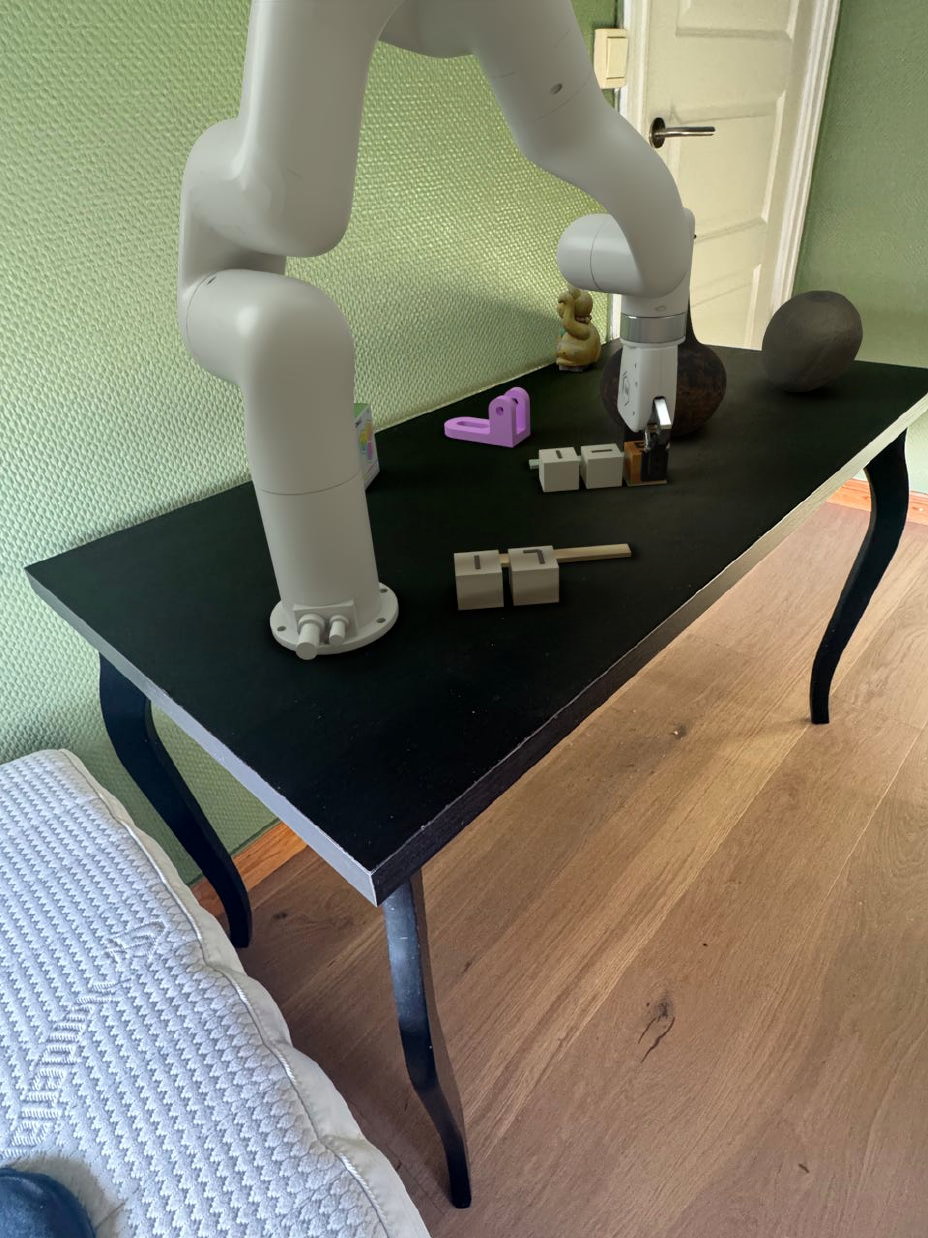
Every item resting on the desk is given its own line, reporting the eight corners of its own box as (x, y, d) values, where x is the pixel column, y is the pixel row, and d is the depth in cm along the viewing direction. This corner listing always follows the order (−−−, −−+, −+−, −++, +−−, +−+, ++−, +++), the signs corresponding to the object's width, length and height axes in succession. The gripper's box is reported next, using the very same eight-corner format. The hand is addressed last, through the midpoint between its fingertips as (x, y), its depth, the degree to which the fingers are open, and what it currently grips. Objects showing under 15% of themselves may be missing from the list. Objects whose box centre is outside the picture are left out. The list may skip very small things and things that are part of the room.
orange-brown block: (665, 481, 97) (668, 451, 95) (630, 484, 97) (632, 454, 95) (656, 468, 101) (659, 438, 99) (622, 470, 101) (624, 441, 99)
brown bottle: (679, 401, 123) (696, 204, 107) (747, 436, 108) (778, 215, 93) (577, 420, 119) (581, 218, 103) (634, 459, 104) (648, 232, 89)
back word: (670, 482, 97) (673, 452, 95) (538, 493, 97) (537, 463, 95) (651, 453, 105) (653, 424, 103) (529, 463, 105) (528, 435, 103)
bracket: (530, 434, 115) (529, 388, 111) (512, 447, 111) (510, 399, 107) (457, 423, 121) (454, 379, 117) (438, 435, 117) (434, 390, 113)
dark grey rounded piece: (751, 402, 120) (766, 301, 111) (759, 376, 130) (773, 282, 122) (850, 408, 115) (873, 303, 106) (849, 380, 125) (870, 282, 117)
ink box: (365, 492, 101) (350, 392, 94) (337, 492, 102) (319, 392, 94) (380, 471, 107) (367, 375, 99) (353, 471, 107) (338, 375, 100)
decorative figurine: (560, 359, 147) (560, 275, 139) (603, 359, 145) (606, 274, 137) (552, 373, 140) (551, 286, 131) (597, 374, 138) (600, 285, 129)
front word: (648, 594, 76) (651, 558, 73) (458, 610, 76) (455, 574, 73) (626, 548, 84) (628, 514, 82) (455, 562, 84) (452, 529, 82)
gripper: (605, 313, 96) (601, 443, 105) (638, 348, 82) (629, 495, 91) (665, 308, 96) (655, 439, 106) (707, 342, 82) (692, 490, 91)
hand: (643, 465), depth 98 cm, fingers open, 9 cm apart
